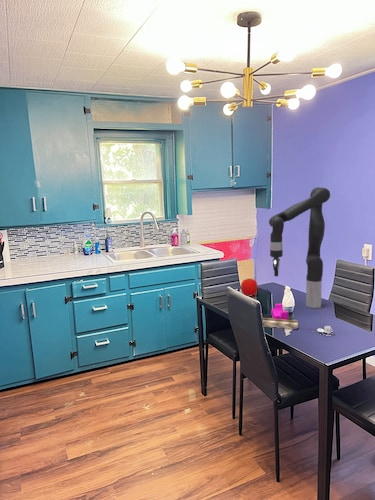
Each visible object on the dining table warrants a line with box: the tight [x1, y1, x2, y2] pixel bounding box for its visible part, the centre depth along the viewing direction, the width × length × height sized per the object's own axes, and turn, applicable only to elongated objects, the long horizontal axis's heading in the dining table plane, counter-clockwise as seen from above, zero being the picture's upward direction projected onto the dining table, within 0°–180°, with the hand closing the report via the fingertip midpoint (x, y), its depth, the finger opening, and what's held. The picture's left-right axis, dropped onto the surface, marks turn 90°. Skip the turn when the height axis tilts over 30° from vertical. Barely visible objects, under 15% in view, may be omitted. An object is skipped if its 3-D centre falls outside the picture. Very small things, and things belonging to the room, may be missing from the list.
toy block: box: [270, 303, 289, 320], centre depth 219 cm, size 15×6×8 cm, turn 1°
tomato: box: [240, 278, 258, 297], centre depth 265 cm, size 12×12×13 cm
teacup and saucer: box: [316, 325, 333, 335], centre depth 198 cm, size 9×8×4 cm
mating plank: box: [262, 317, 299, 330], centre depth 209 cm, size 20×4×4 cm, turn 69°
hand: (276, 276), depth 232 cm, fingers closed
